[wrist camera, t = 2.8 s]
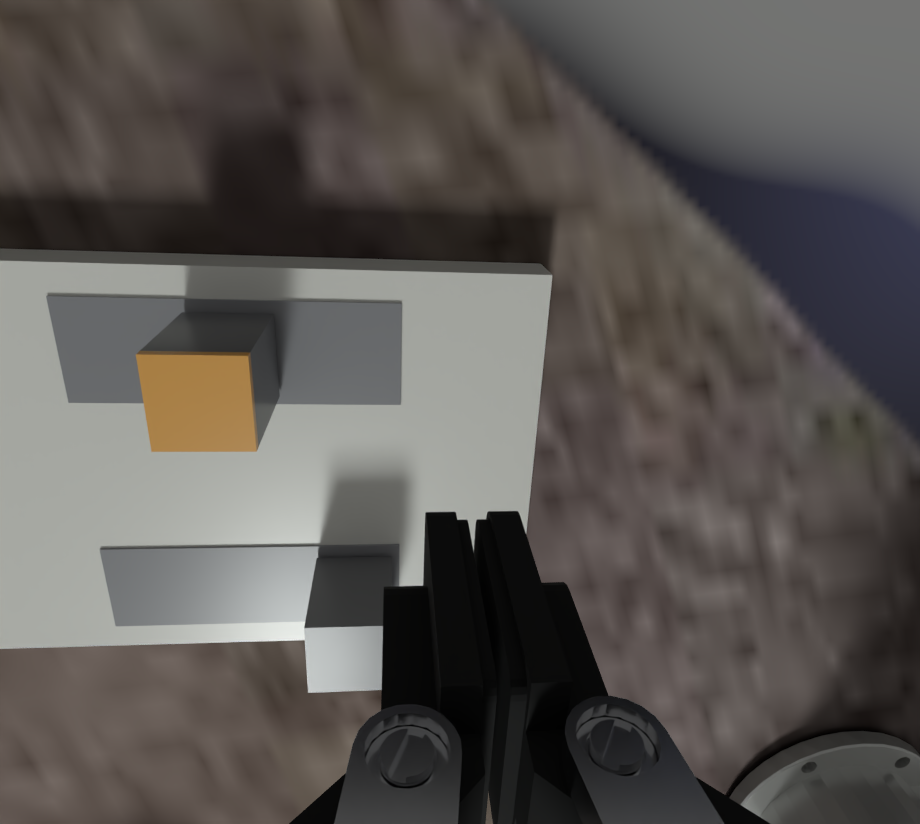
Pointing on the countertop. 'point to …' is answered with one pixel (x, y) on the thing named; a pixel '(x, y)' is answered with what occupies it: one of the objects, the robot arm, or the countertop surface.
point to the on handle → (346, 623)
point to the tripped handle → (210, 382)
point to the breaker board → (280, 451)
